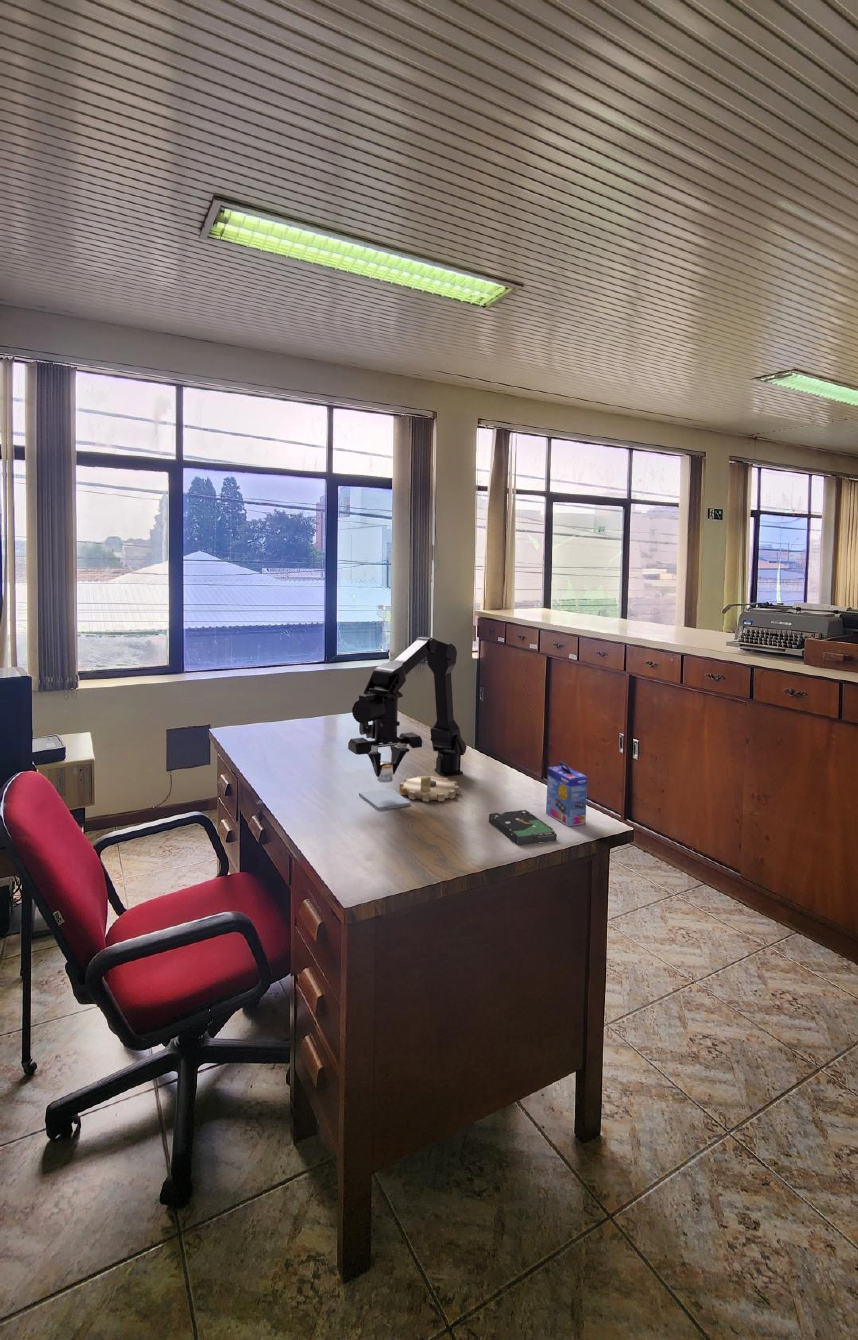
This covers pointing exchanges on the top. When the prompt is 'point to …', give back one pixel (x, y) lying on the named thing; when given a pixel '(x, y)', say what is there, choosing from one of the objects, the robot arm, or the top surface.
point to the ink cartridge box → (566, 795)
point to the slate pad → (384, 799)
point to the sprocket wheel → (429, 788)
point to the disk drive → (522, 827)
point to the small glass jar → (386, 772)
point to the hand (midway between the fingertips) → (385, 775)
